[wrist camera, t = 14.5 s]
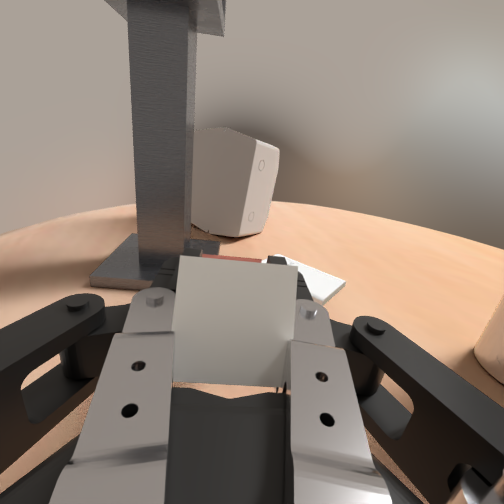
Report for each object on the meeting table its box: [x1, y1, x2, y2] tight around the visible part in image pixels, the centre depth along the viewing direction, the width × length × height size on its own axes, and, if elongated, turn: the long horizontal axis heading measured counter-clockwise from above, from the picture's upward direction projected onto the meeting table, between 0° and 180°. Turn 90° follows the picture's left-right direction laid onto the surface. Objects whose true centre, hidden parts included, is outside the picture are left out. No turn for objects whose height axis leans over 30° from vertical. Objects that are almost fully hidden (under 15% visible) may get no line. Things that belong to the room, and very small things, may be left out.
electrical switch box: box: [191, 127, 279, 237], centre depth 60 cm, size 15×15×20 cm
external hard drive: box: [261, 254, 346, 306], centre depth 44 cm, size 2×8×12 cm
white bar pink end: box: [172, 254, 298, 387], centre depth 16 cm, size 18×4×4 cm
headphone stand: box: [89, 0, 226, 290], centre depth 36 cm, size 15×15×34 cm
